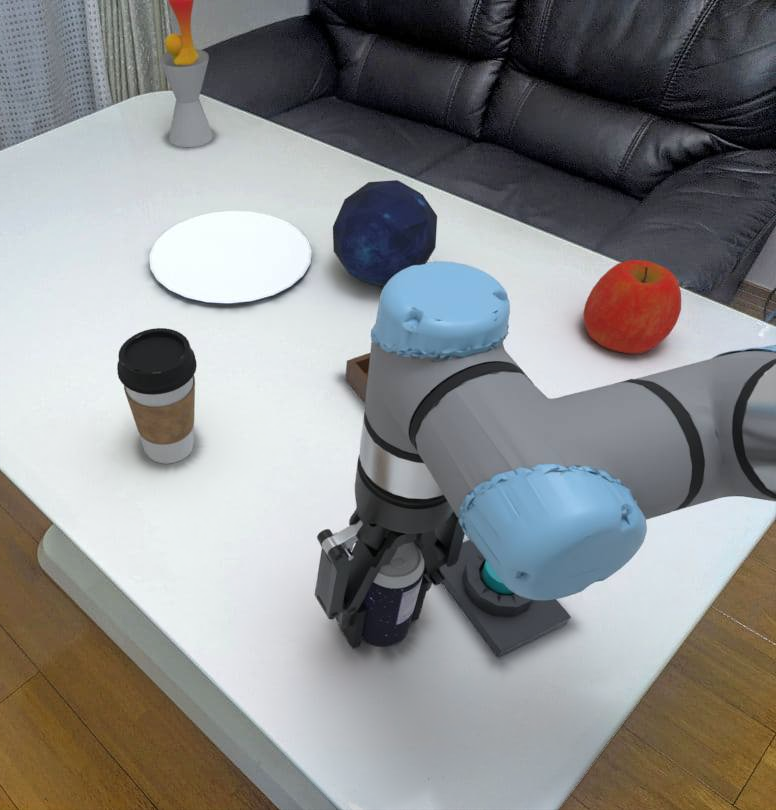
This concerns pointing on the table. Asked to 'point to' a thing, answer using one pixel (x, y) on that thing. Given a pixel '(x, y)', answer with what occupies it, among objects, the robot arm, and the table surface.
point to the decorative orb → (384, 231)
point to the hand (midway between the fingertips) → (378, 621)
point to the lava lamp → (186, 81)
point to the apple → (633, 307)
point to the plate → (230, 257)
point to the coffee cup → (160, 391)
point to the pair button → (493, 580)
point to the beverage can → (393, 597)
